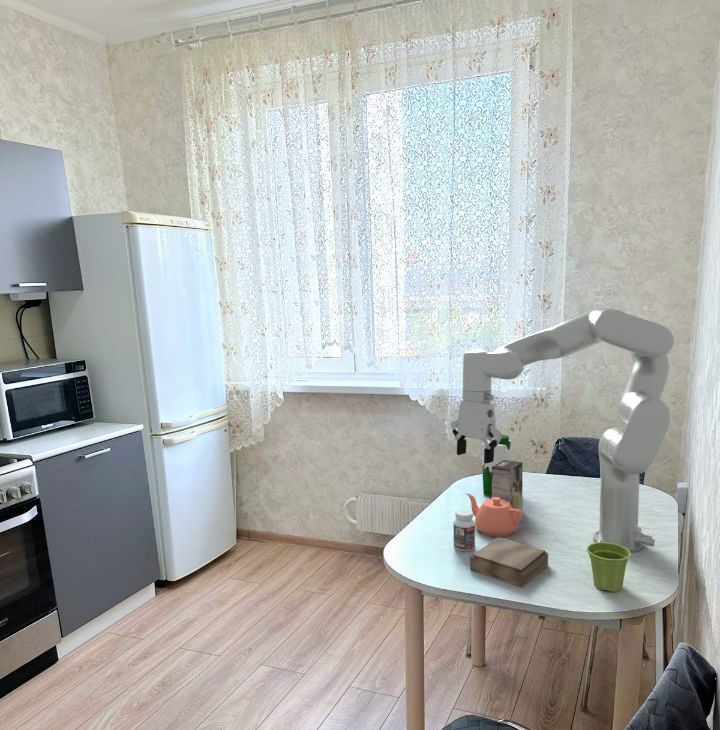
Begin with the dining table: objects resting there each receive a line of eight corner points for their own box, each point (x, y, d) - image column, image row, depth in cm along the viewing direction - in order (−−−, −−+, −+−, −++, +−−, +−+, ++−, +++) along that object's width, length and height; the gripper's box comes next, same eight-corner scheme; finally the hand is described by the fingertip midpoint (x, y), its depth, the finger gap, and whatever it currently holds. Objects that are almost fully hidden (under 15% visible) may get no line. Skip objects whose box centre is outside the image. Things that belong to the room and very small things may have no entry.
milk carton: (505, 499, 194) (505, 440, 191) (479, 495, 198) (479, 437, 196) (513, 491, 201) (513, 434, 199) (488, 487, 206) (487, 431, 203)
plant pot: (577, 580, 140) (578, 545, 138) (610, 573, 142) (610, 539, 141) (605, 599, 131) (605, 562, 130) (639, 591, 134) (640, 555, 132)
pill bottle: (470, 553, 155) (469, 517, 154) (450, 549, 158) (449, 514, 157) (478, 545, 160) (477, 510, 159) (458, 541, 163) (458, 507, 162)
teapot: (512, 544, 160) (512, 510, 159) (456, 527, 172) (455, 496, 171) (532, 529, 169) (532, 498, 168) (477, 515, 181) (477, 485, 180)
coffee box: (503, 507, 186) (503, 458, 184) (523, 511, 183) (523, 462, 181) (491, 517, 179) (491, 466, 177) (511, 521, 175) (511, 469, 173)
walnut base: (548, 565, 147) (548, 550, 147) (522, 587, 137) (522, 571, 136) (498, 550, 157) (498, 536, 156) (470, 569, 146) (470, 554, 146)
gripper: (511, 399, 152) (509, 463, 154) (462, 390, 166) (460, 449, 168) (492, 402, 148) (490, 468, 150) (443, 393, 161) (442, 453, 163)
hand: (474, 458), depth 159 cm, fingers open, 9 cm apart
